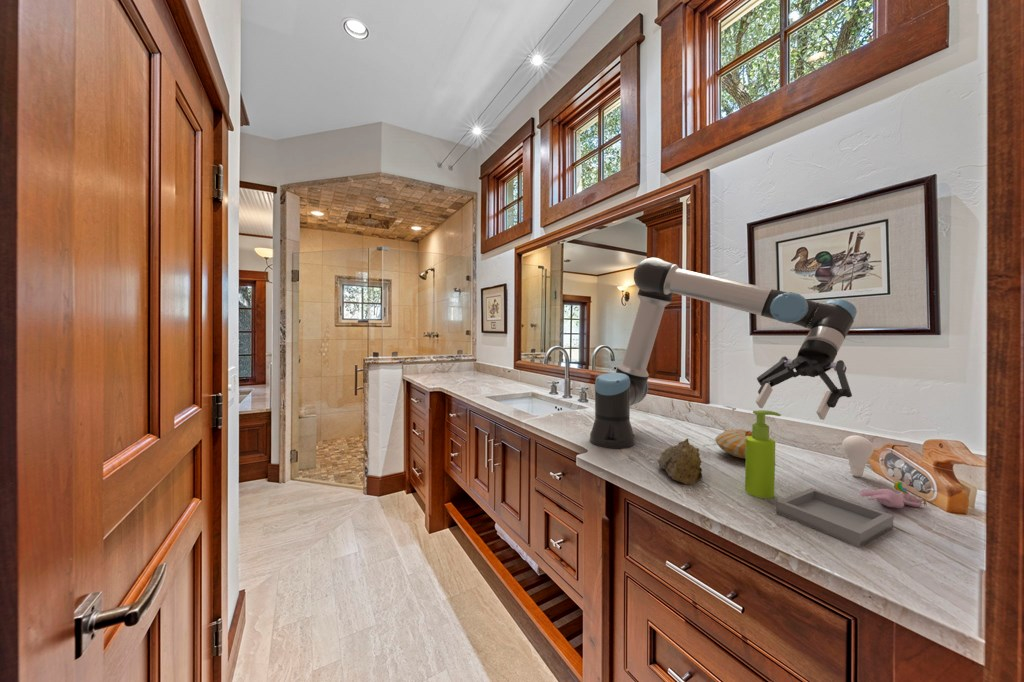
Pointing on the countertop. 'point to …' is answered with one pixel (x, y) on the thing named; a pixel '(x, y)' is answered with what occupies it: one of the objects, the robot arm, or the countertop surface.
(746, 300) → the robot arm
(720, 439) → the nautilus
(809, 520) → the holder tray
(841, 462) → the countertop surface
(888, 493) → the rabbit figure
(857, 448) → the lightbulb
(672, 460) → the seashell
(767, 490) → the soap dispenser
